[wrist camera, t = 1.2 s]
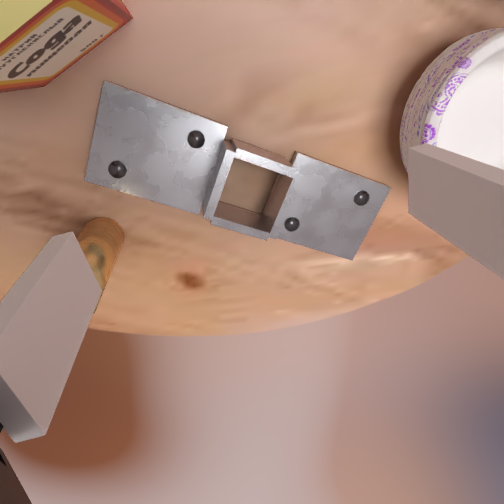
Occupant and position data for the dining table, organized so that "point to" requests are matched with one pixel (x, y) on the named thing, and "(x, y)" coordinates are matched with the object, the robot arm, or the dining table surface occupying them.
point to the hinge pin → (101, 247)
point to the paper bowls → (460, 101)
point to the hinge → (225, 175)
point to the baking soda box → (51, 37)
